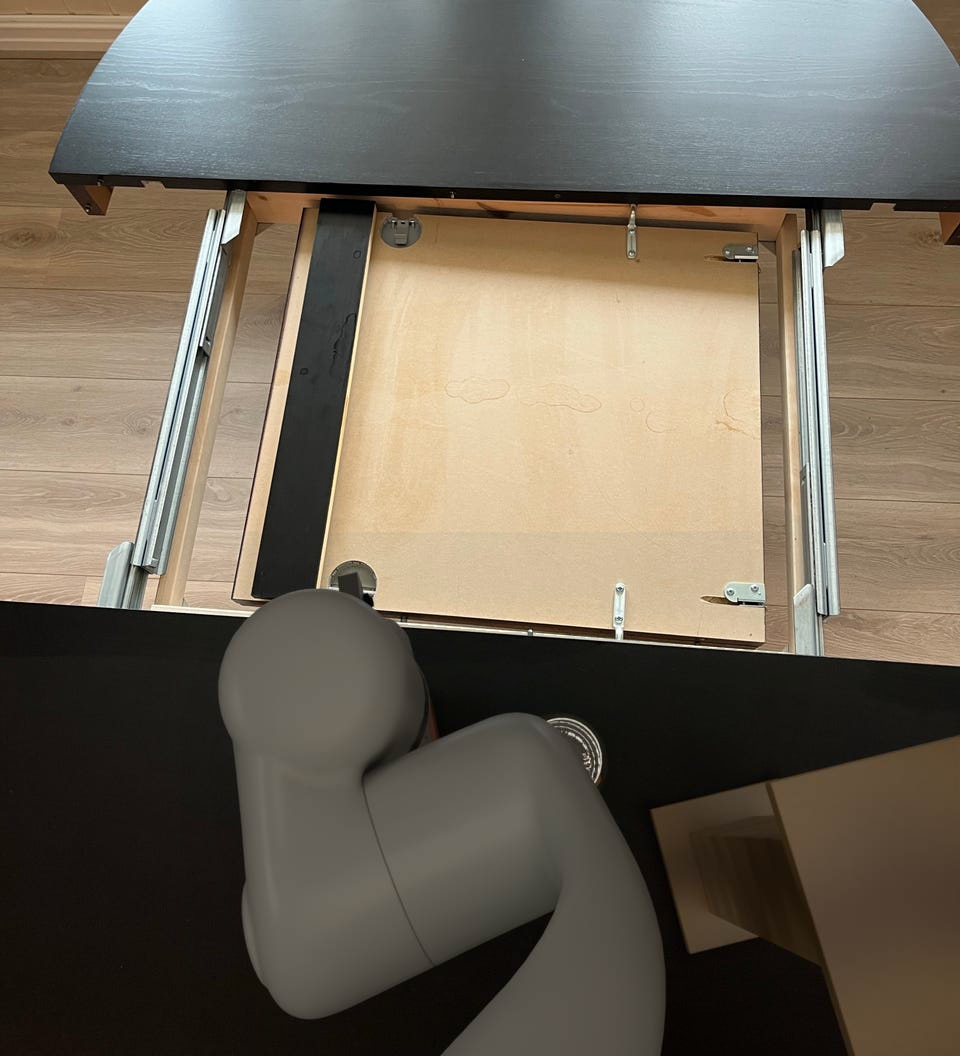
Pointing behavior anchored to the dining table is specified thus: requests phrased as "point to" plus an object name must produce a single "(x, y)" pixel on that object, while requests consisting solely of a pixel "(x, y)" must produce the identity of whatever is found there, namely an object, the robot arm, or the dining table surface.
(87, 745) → the dining table surface
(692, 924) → the pedestal
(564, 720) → the wineglass
